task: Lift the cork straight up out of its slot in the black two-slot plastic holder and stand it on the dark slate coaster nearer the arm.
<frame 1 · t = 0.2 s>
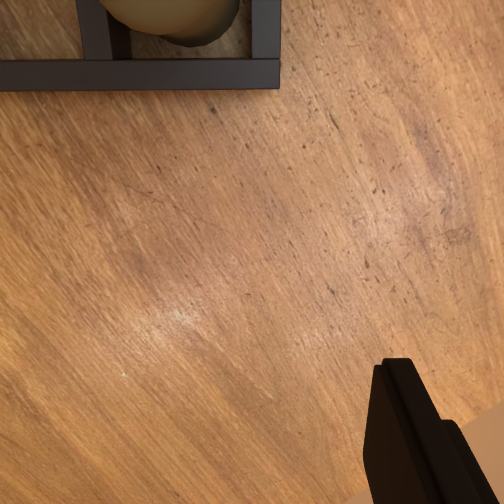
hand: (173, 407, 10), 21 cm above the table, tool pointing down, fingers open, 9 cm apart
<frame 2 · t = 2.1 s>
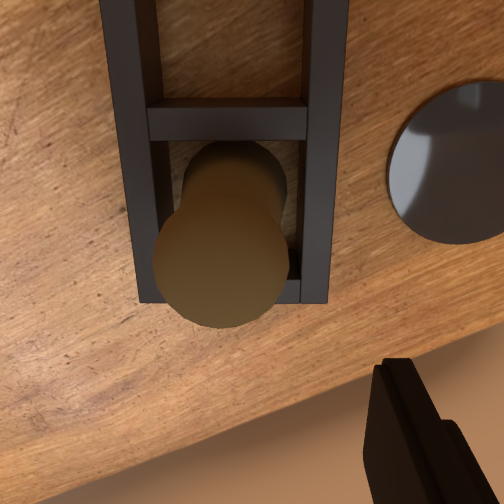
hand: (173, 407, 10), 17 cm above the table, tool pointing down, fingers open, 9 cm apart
cork: (234, 190, 26), resting in holder
holder: (232, 112, 24), on the table
coaster: (468, 167, 25), on the table
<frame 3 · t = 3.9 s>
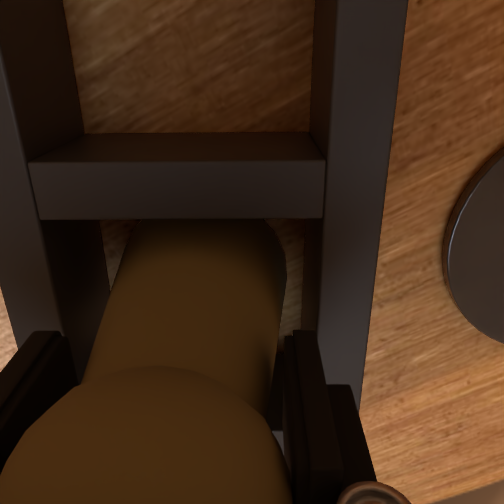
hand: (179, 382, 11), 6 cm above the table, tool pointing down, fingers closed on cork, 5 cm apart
cork: (205, 271, 16), resting in holder, touching gripper
holder: (198, 155, 15), on the table
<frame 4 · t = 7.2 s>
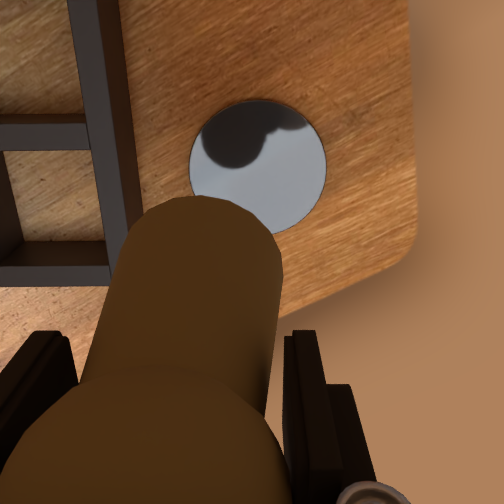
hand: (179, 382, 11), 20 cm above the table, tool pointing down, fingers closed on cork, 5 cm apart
cork: (202, 271, 17), point 14 cm above the table, touching gripper
holder: (53, 126, 28), on the table
coaster: (257, 170, 29), on the table
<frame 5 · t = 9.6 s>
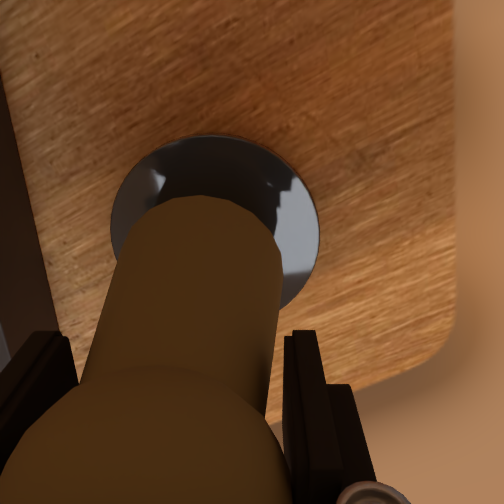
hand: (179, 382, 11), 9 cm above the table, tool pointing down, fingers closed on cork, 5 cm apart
cork: (202, 271, 17), point 3 cm above the table, touching gripper
coaster: (216, 236, 19), on the table
when the fingers open (6 cm above the table, at t = 10.9 s): cork stays where it is, resting on coaster.
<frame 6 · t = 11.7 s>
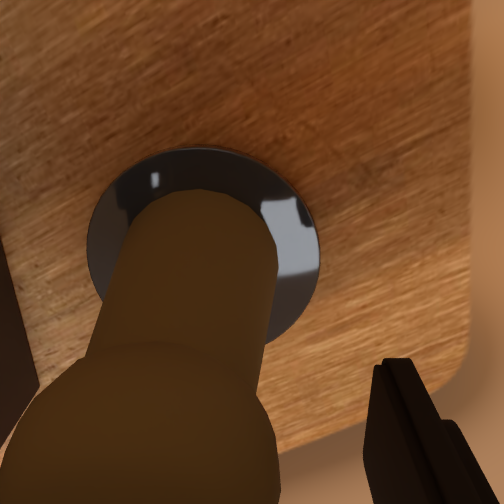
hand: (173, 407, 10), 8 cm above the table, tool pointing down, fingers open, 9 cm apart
cork: (201, 262, 17), resting on coaster
coaster: (205, 258, 18), on the table
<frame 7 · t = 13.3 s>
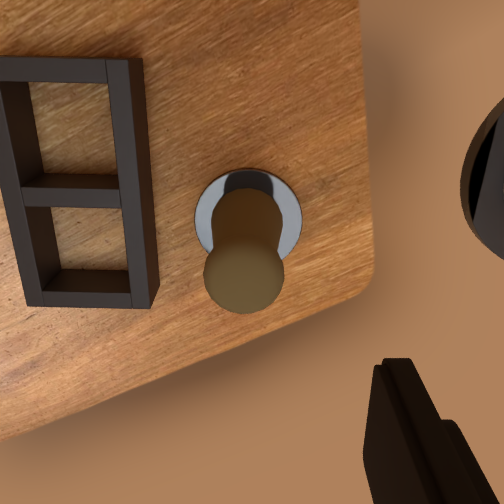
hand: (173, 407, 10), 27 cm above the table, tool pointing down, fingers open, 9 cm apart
cork: (246, 222, 37), resting on coaster
holder: (89, 183, 36), on the table
coaster: (248, 220, 37), on the table
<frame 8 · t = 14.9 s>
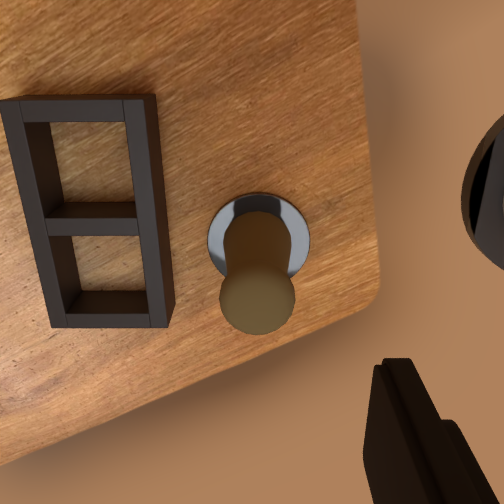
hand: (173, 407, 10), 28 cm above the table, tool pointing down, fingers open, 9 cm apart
cork: (257, 242, 39), resting on coaster
holder: (107, 210, 38), on the table
coaster: (258, 241, 39), on the table
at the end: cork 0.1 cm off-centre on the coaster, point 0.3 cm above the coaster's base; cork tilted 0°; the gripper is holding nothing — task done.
